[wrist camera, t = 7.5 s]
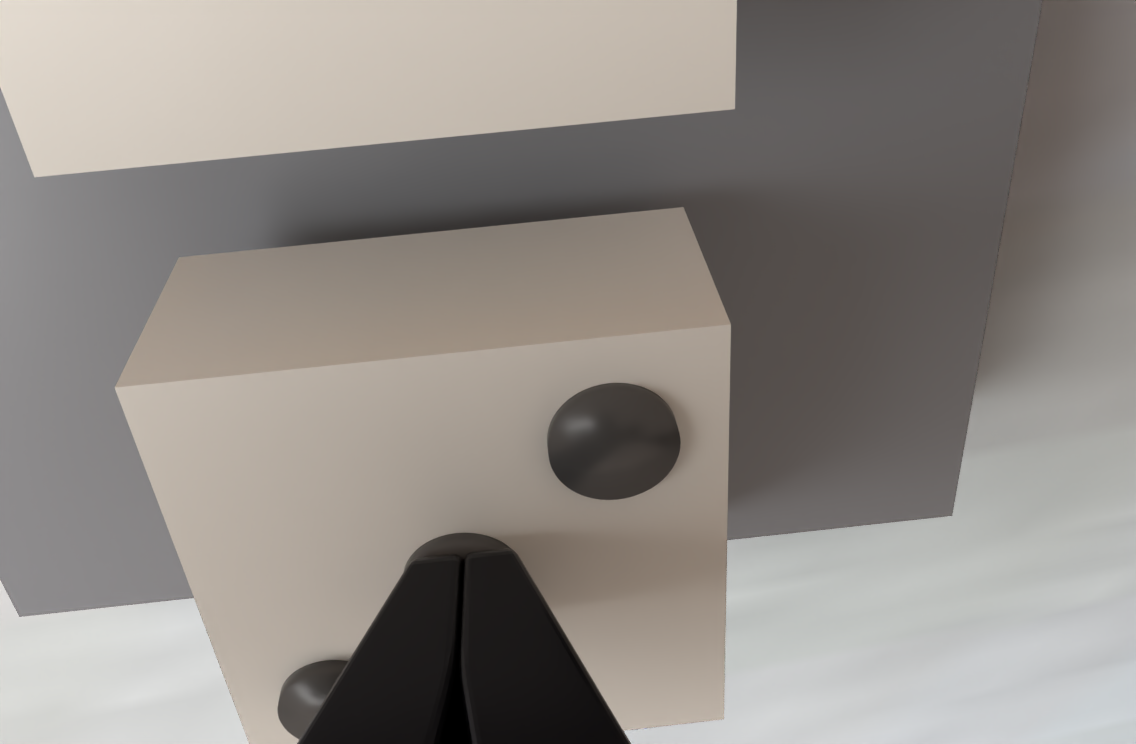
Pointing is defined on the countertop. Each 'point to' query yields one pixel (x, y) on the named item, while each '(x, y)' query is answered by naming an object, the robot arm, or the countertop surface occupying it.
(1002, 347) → the countertop surface
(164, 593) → the button panel
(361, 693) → the robot arm
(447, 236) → the three-dot button
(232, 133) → the one-dot button
